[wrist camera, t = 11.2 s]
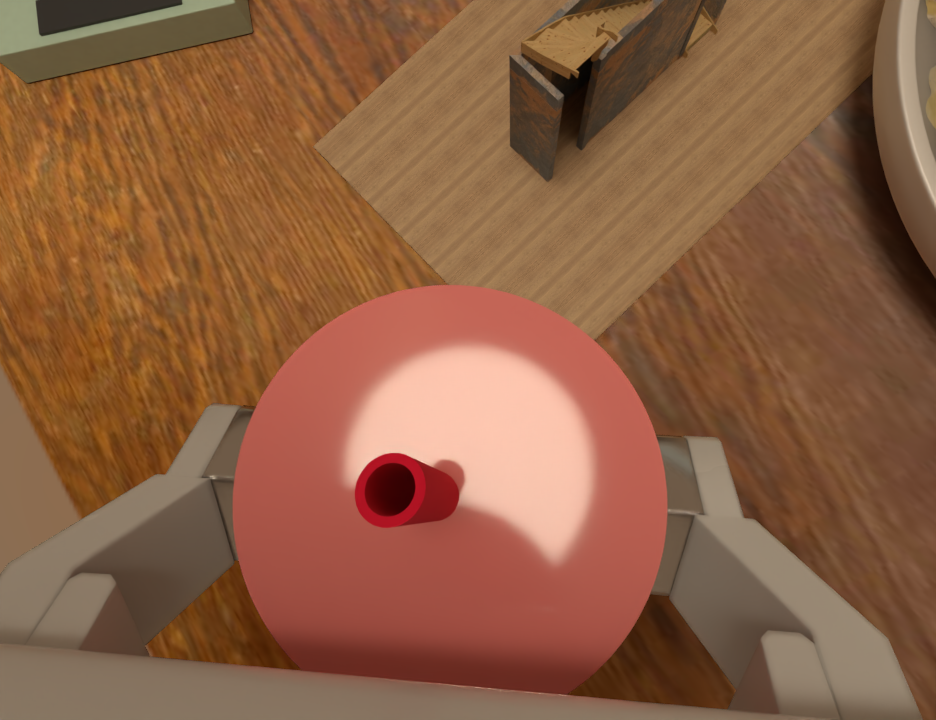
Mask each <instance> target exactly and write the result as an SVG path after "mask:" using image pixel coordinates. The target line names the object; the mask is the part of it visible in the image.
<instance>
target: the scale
mask: <svg viewBox="0 0 936 720" xmlns="http://www.w3.org/2000/svg"><path fill="white" fill-rule="evenodd" d="M252 32H253V30H252V24H251V18H250V12H249V6H248V0H0V63H2V64H3V65H4V66H5V67H7V68H8V69H9V70H11V71H12V72H13V73H14V74H16V75H17V76H18V77H20V78H21V79H22V80H23V81H25V82H26V83H31V82H35V81H39V80H44V79H48V78H53V77H57V76H62V75H66V74H71V73H75V72H80V71H84V70H88V69H93V68H97V67H102V66H106V65H111V64H115V63H120V62H124V61H129V60H133V59H138V58H142V57H146V56H151V55H155V54H160V53H164V52H169V51H173V50H178V49H182V48H187V47H191V46H195V45H200V44H204V43H209V42H213V41H218V40H222V39H227V38H231V37H236V36H240V35H245V34H249V33H252Z"/></svg>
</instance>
